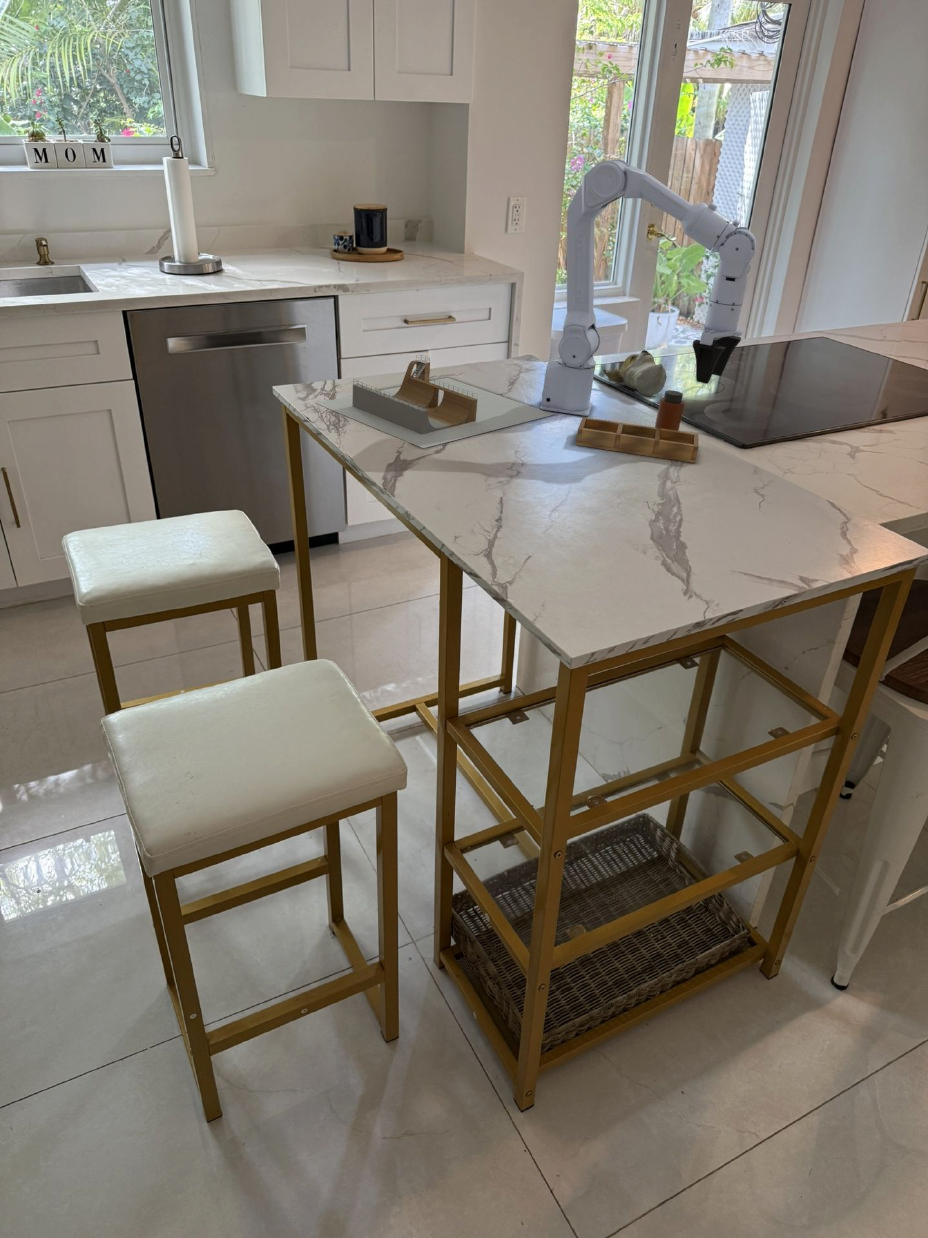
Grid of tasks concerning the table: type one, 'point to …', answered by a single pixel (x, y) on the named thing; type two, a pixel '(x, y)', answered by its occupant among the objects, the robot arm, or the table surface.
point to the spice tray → (638, 439)
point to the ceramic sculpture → (640, 374)
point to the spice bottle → (670, 411)
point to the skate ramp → (432, 408)
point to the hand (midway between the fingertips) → (708, 378)
